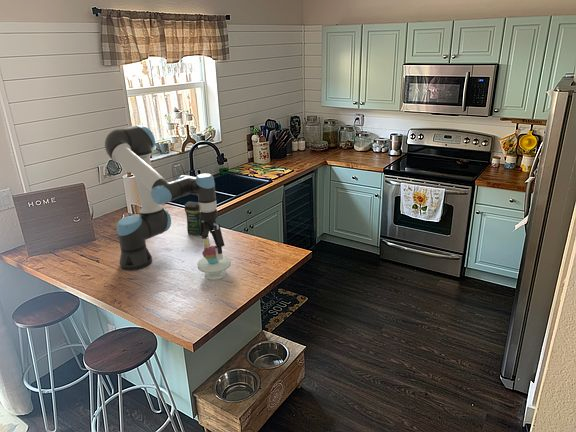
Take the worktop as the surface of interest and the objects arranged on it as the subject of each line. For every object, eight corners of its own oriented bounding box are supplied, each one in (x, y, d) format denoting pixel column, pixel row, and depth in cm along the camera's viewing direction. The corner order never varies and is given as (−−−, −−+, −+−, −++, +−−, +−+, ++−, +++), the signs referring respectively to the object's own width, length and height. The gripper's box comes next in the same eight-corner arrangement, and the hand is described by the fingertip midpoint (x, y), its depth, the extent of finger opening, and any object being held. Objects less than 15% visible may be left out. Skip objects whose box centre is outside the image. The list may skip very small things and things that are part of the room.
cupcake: (205, 267, 194) (200, 242, 190) (203, 260, 202) (198, 236, 198) (224, 262, 196) (219, 238, 192) (221, 256, 204) (217, 232, 200)
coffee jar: (185, 234, 246) (181, 203, 239) (193, 229, 253) (189, 199, 246) (200, 236, 242) (196, 205, 236) (207, 231, 249) (204, 200, 242)
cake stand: (209, 286, 191) (207, 273, 189) (193, 274, 202) (191, 261, 200) (238, 275, 200) (237, 262, 198) (221, 264, 211) (219, 251, 209)
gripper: (229, 214, 183) (234, 261, 191) (203, 201, 200) (208, 245, 208) (214, 219, 179) (219, 266, 187) (188, 205, 196) (193, 249, 204)
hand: (213, 255), depth 197 cm, fingers open, 10 cm apart
